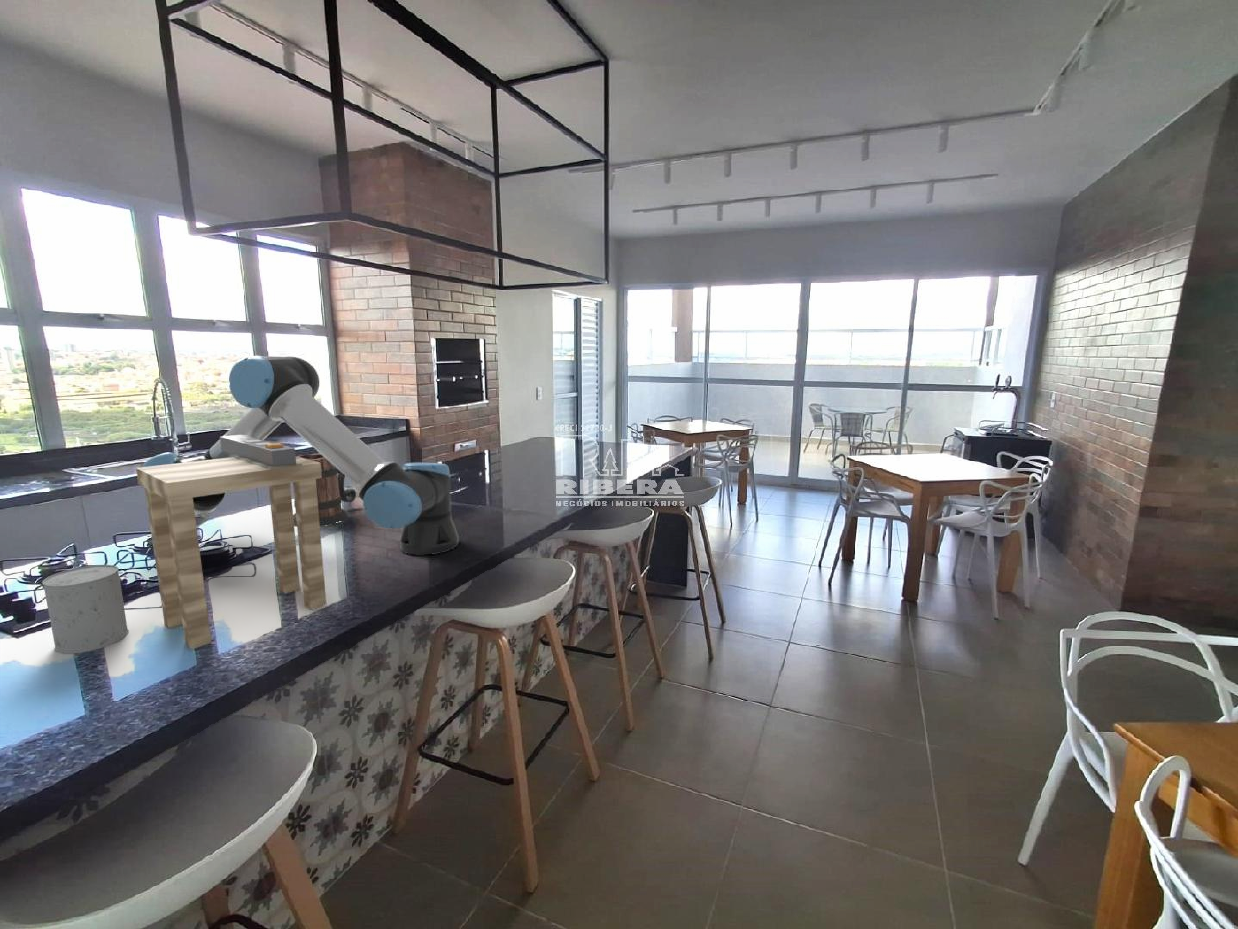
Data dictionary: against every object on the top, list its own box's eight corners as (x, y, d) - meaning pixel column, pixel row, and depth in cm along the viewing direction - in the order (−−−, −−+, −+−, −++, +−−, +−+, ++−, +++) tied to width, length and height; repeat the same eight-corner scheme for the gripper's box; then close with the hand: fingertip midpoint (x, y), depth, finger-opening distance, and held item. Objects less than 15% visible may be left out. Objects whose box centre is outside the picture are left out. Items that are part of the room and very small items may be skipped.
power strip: (221, 450, 117) (219, 433, 116) (242, 448, 120) (241, 432, 119) (273, 466, 101) (271, 447, 101) (296, 463, 105) (294, 445, 104)
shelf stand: (158, 622, 105) (135, 466, 99) (293, 583, 123) (280, 451, 118) (190, 653, 94) (166, 481, 88) (332, 606, 113) (320, 461, 107)
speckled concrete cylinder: (55, 639, 98) (42, 573, 95) (126, 622, 104) (116, 560, 102) (54, 660, 91) (41, 591, 89) (130, 640, 98) (120, 575, 95)
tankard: (320, 529, 161) (315, 462, 157) (274, 524, 166) (268, 458, 162) (375, 509, 183) (371, 450, 180) (333, 504, 188) (329, 447, 184)
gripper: (263, 501, 144) (290, 471, 131) (141, 522, 125) (159, 489, 112) (255, 475, 145) (281, 443, 132) (132, 491, 126) (149, 456, 113)
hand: (225, 464), depth 122 cm, fingers open, 13 cm apart
